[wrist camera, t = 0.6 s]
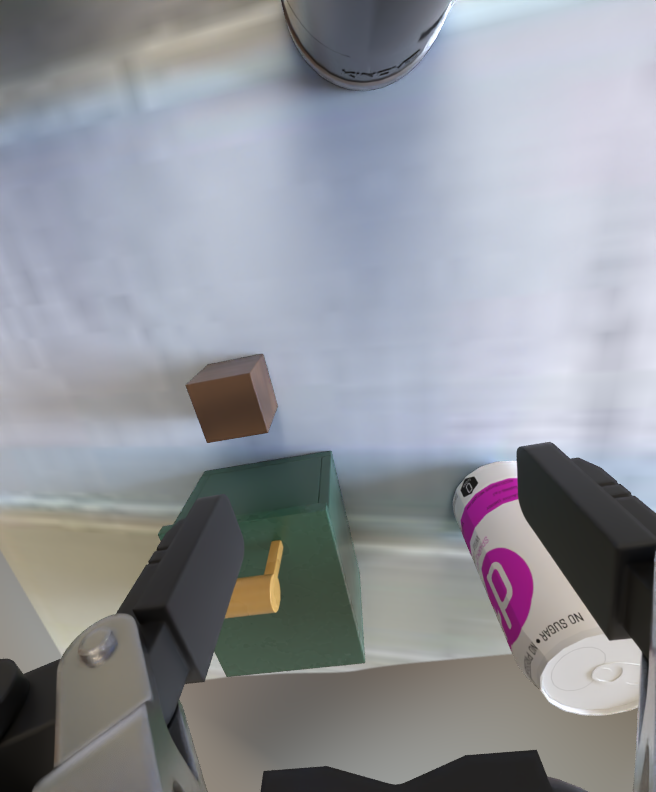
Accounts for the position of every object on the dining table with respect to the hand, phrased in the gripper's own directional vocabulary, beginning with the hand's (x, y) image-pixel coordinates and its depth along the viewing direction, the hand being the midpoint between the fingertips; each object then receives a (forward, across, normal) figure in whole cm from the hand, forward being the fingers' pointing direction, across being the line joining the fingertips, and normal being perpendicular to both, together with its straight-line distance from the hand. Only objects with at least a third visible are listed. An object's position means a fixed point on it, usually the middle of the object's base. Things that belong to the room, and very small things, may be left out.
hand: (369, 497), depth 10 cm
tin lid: (+12, +9, +16) cm, 22 cm away
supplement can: (+20, -10, +16) cm, 28 cm away
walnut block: (+19, +9, +2) cm, 21 cm away
